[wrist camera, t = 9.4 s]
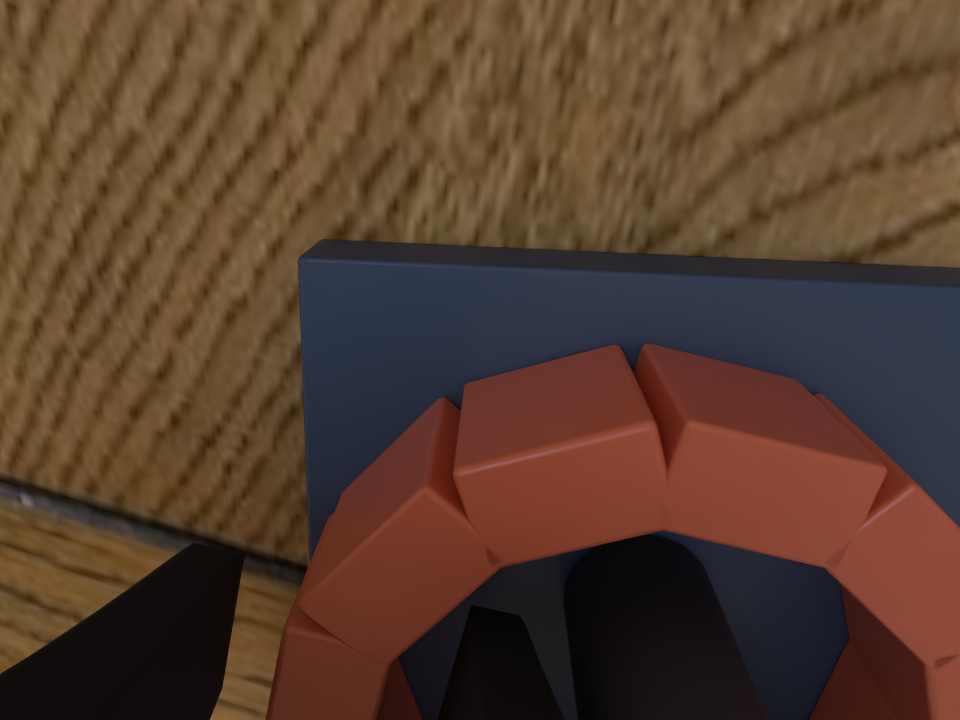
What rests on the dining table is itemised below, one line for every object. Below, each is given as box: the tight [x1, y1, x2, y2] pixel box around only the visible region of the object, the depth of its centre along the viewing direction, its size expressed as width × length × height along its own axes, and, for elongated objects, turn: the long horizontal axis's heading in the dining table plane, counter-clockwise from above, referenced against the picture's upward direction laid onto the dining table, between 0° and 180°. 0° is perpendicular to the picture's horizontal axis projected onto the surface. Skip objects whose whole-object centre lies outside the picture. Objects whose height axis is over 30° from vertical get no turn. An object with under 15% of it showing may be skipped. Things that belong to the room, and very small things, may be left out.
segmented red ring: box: [266, 343, 960, 720], centre depth 10 cm, size 8×8×2 cm
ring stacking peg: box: [298, 240, 960, 720], centre depth 9 cm, size 9×9×5 cm
